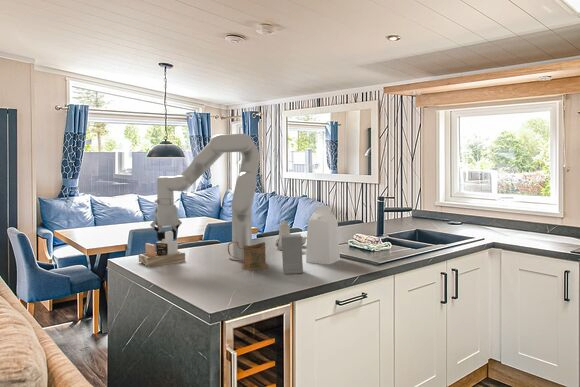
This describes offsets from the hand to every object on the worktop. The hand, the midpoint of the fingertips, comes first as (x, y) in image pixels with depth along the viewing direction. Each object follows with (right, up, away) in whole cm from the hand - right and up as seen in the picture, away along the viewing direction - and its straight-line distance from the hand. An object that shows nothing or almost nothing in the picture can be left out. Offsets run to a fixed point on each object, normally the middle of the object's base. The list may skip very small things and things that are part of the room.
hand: (166, 239), depth 214 cm
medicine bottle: (0, -8, 0) cm, 8 cm away
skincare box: (+60, -11, -28) cm, 67 cm away
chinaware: (+59, -9, +30) cm, 67 cm away
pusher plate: (-6, -10, -5) cm, 13 cm away
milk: (+75, -10, -5) cm, 75 cm away
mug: (+41, -11, -17) cm, 45 cm away
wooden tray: (-2, -11, -1) cm, 11 cm away
